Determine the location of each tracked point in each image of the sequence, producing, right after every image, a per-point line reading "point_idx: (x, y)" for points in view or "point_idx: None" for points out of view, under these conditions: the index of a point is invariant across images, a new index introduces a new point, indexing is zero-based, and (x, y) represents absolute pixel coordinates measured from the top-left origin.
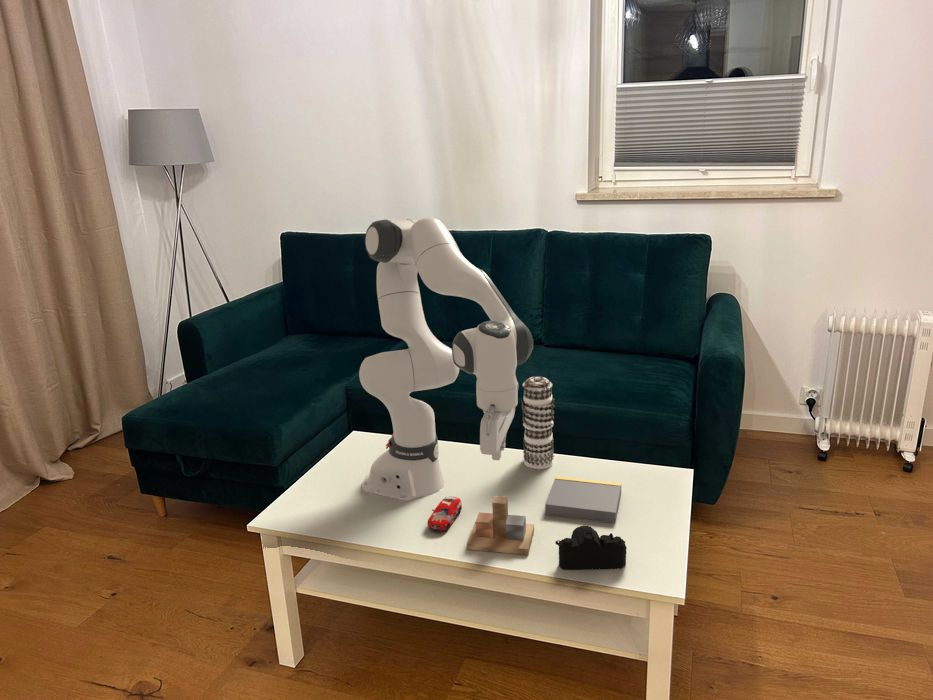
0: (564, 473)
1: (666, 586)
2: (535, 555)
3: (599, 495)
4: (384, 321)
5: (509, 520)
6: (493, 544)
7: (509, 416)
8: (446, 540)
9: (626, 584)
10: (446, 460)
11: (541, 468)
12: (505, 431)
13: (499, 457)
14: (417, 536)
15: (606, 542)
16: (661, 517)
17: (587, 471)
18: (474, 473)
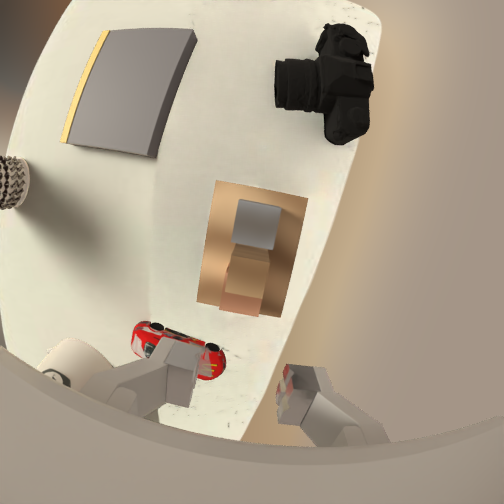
0: (42, 134)
1: (368, 18)
2: (296, 183)
3: (130, 56)
4: None
5: (256, 240)
6: (287, 268)
7: (6, 459)
8: (240, 343)
9: (371, 58)
10: (30, 327)
11: (29, 175)
12: (294, 489)
13: (328, 376)
14: (228, 382)
15: (366, 49)
16: None
17: (44, 99)
18: (46, 290)
